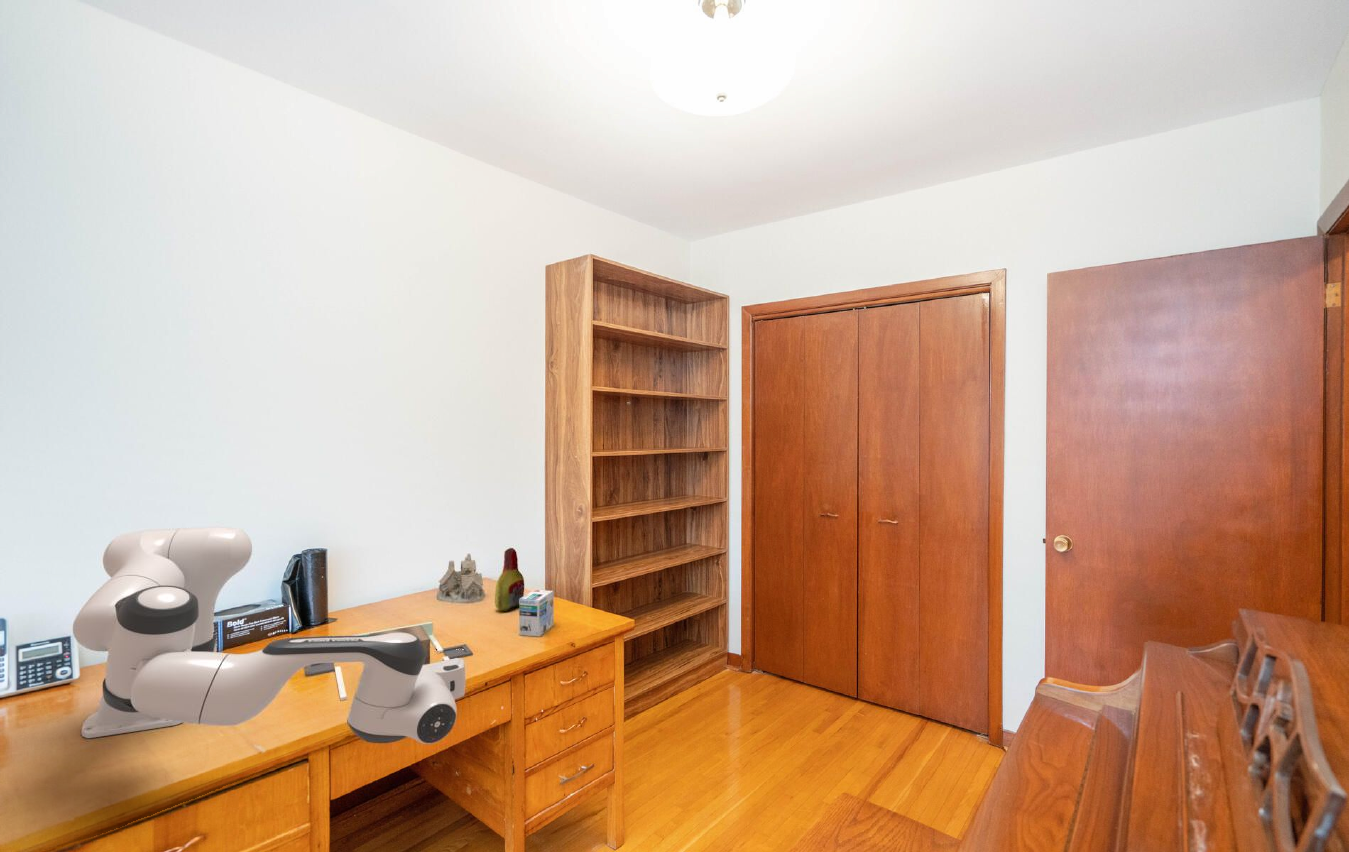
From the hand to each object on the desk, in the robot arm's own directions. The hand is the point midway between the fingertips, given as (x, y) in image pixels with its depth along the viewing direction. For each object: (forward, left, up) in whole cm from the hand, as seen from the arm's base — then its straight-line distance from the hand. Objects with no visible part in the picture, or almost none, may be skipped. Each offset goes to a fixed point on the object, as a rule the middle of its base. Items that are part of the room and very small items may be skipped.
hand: (410, 666), depth 133 cm
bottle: (+40, +54, -8) cm, 67 cm away
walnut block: (0, +15, -8) cm, 17 cm away
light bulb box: (+40, +29, -8) cm, 50 cm away
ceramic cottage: (+29, +75, -8) cm, 81 cm away
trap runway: (0, +25, -8) cm, 26 cm away
